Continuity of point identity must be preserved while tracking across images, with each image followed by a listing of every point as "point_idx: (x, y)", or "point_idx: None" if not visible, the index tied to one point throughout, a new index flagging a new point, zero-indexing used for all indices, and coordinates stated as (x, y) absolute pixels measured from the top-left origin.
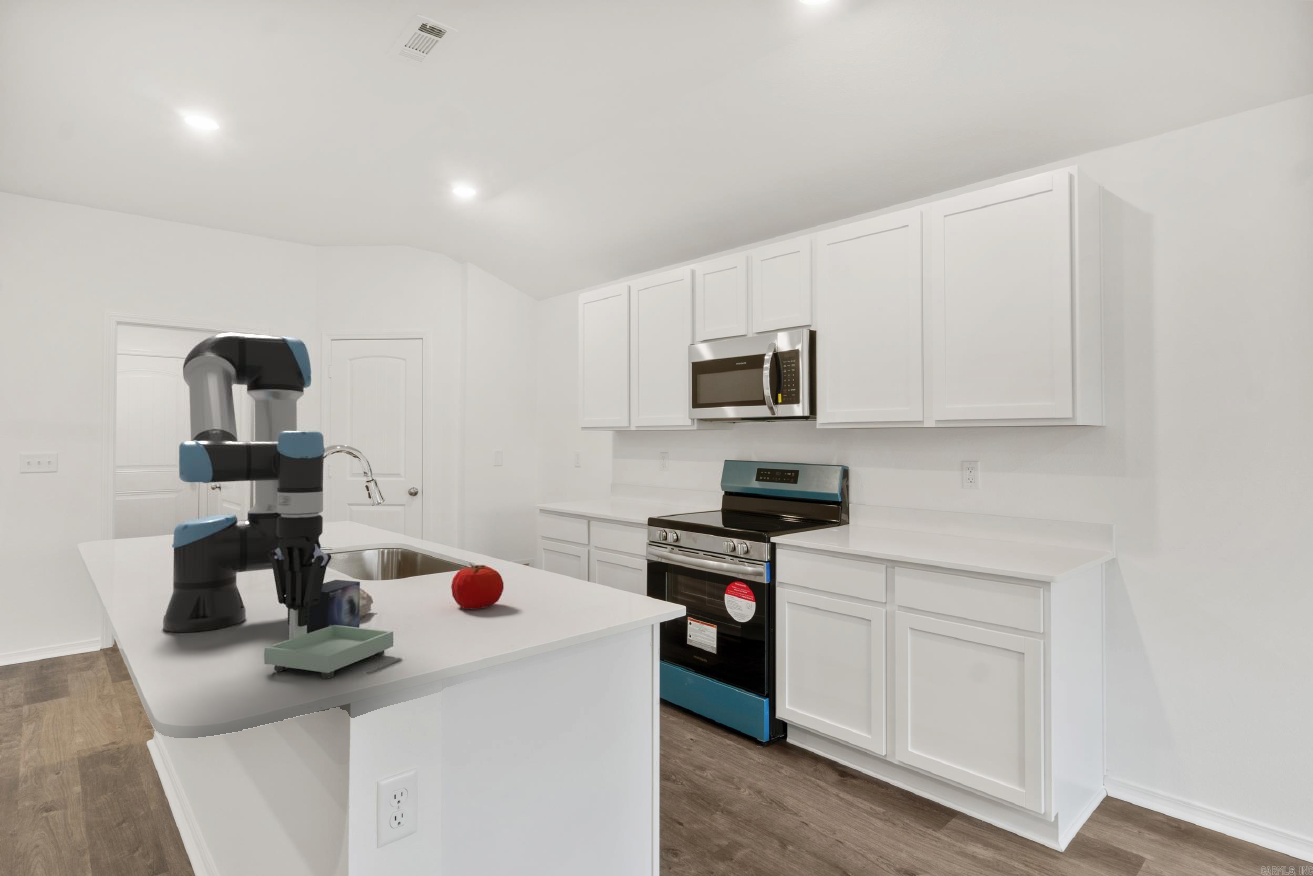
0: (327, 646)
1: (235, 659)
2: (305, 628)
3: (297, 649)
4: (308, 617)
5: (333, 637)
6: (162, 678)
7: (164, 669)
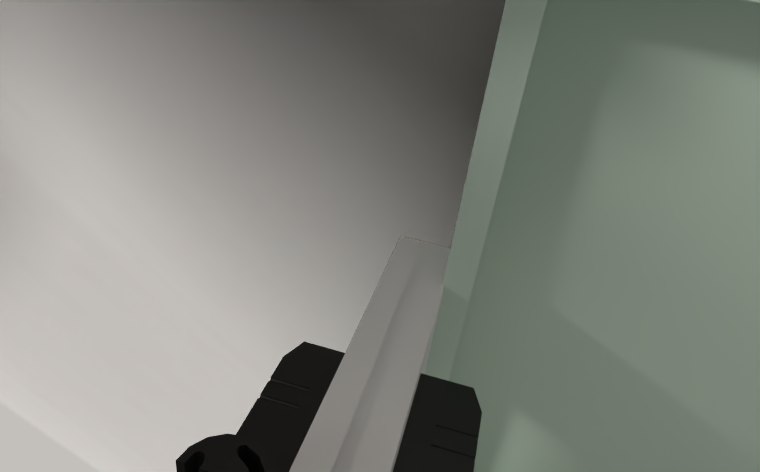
0: (672, 274)
1: (115, 246)
2: (432, 329)
3: (469, 336)
4: (473, 460)
5: (573, 1)
6: (99, 441)
7: (4, 362)
